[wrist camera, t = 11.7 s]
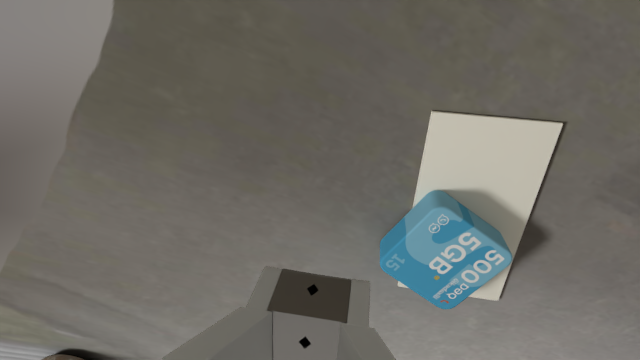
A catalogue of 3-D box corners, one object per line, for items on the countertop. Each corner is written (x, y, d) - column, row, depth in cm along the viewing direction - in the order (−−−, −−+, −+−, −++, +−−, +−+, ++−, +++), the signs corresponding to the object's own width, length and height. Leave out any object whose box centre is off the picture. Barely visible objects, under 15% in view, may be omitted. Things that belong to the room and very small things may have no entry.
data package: (440, 202, 40) (519, 258, 42) (435, 184, 44) (507, 236, 46) (374, 266, 46) (446, 314, 47) (375, 245, 50) (441, 289, 51)
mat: (561, 122, 39) (563, 123, 39) (497, 298, 51) (498, 300, 50) (431, 110, 41) (432, 111, 41) (397, 283, 52) (397, 286, 52)
